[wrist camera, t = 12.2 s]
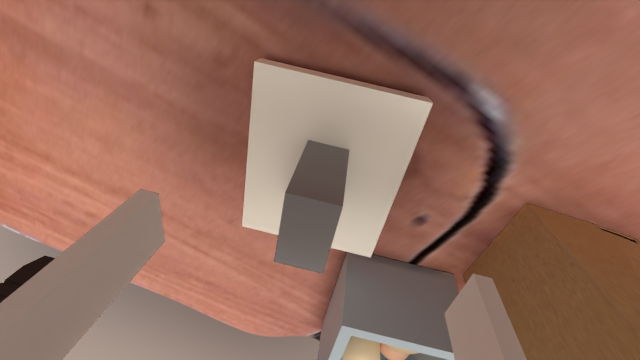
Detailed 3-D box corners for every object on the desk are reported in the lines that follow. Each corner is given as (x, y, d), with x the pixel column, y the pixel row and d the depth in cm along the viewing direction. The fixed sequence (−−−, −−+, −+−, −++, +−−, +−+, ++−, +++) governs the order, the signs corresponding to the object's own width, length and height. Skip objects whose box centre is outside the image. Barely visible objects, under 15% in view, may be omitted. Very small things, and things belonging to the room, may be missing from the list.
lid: (265, 55, 18) (201, 86, 11) (425, 93, 18) (465, 148, 11) (251, 209, 24) (205, 291, 17) (370, 237, 24) (372, 333, 17)
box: (348, 248, 25) (342, 325, 19) (452, 273, 25) (480, 359, 19) (322, 324, 30) (311, 401, 24) (407, 345, 30) (417, 428, 24)
